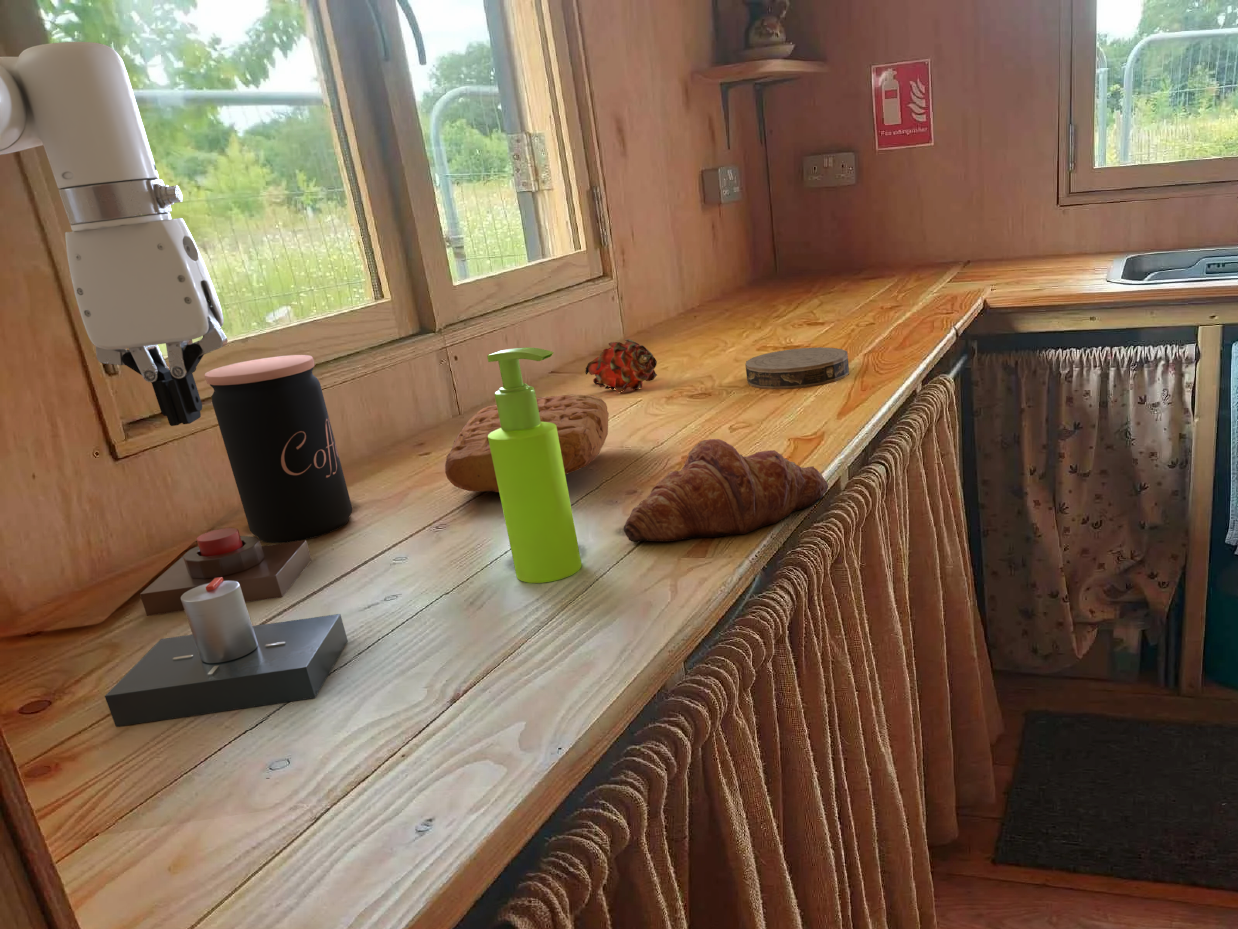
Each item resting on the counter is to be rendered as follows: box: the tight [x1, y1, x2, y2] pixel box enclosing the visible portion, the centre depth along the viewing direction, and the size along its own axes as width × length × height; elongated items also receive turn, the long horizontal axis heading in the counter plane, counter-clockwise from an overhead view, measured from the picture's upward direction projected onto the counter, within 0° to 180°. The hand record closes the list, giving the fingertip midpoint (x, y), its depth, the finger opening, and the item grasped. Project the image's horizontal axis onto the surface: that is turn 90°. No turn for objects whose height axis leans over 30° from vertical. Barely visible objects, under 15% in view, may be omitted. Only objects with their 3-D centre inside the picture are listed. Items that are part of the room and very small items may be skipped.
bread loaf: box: [444, 393, 610, 493], centre depth 128 cm, size 22×17×8 cm
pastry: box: [623, 438, 829, 544], centre depth 106 cm, size 17×15×8 cm
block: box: [139, 535, 312, 617], centre depth 103 cm, size 12×10×4 cm
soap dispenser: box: [486, 346, 582, 584], centre depth 95 cm, size 6×7×20 cm
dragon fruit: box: [583, 338, 658, 393], centre depth 172 cm, size 8×8×12 cm
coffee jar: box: [204, 354, 353, 544], centre depth 116 cm, size 11×11×18 cm
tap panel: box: [104, 613, 349, 728], centre depth 83 cm, size 14×10×3 cm
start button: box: [196, 527, 243, 556], centre depth 102 cm, size 4×4×2 cm
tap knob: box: [181, 577, 258, 663], centre depth 81 cm, size 4×4×5 cm
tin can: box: [744, 346, 850, 390], centre depth 168 cm, size 16×16×3 cm
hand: (186, 421), depth 98 cm, fingers closed
